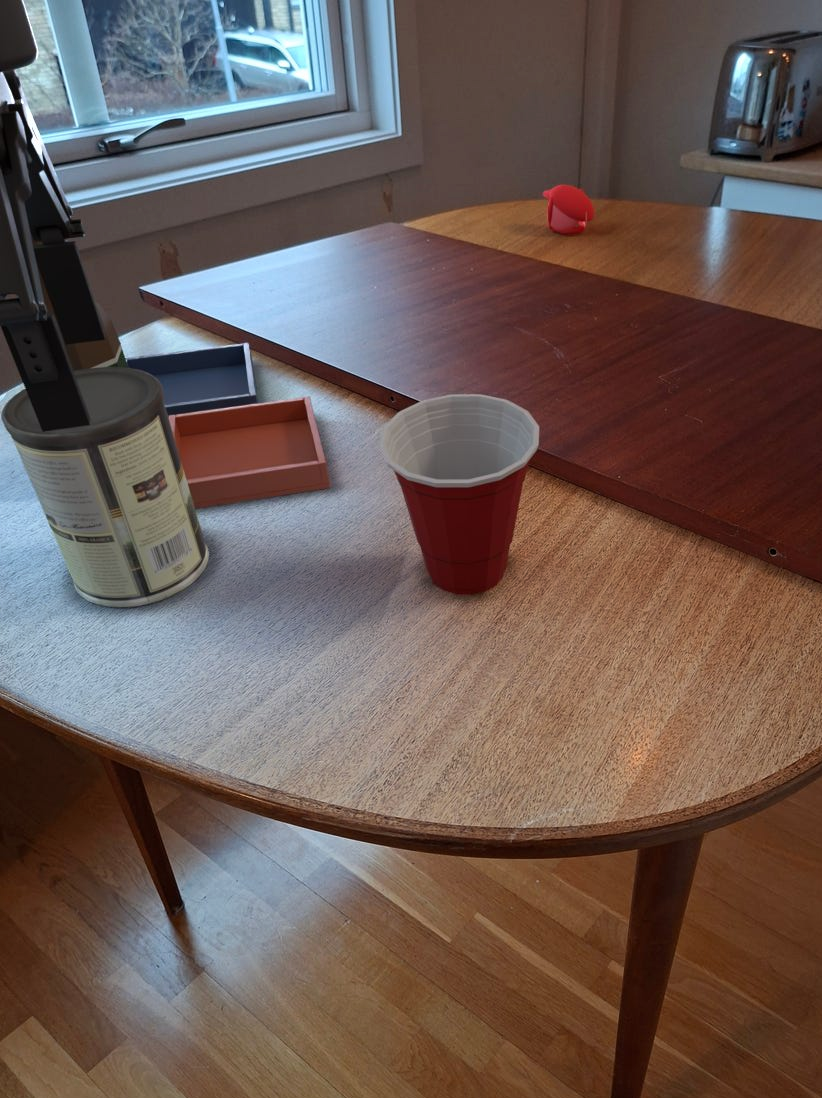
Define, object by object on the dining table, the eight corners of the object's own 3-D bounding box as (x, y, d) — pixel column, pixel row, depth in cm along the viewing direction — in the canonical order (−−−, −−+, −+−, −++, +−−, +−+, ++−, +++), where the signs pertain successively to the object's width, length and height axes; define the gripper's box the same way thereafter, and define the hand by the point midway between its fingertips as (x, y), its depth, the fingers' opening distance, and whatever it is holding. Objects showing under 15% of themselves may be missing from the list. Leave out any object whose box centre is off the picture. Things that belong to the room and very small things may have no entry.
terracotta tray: (174, 512, 74) (166, 486, 72) (175, 439, 83) (168, 415, 82) (330, 488, 76) (326, 462, 74) (313, 419, 86) (309, 396, 84)
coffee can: (112, 525, 72) (52, 362, 63) (229, 534, 71) (186, 369, 62) (45, 603, 65) (-34, 430, 56) (175, 615, 63) (116, 439, 54)
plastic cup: (373, 607, 63) (352, 461, 55) (420, 525, 71) (408, 387, 63) (519, 630, 61) (519, 481, 53) (551, 543, 69) (555, 401, 61)
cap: (599, 227, 129) (602, 182, 125) (586, 239, 125) (588, 193, 121) (548, 221, 132) (549, 178, 128) (534, 233, 127) (534, 188, 123)
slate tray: (121, 438, 84) (114, 414, 82) (128, 380, 94) (121, 358, 92) (260, 418, 86) (255, 395, 84) (253, 364, 96) (248, 342, 94)
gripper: (-32, -8, 35) (126, 461, 49) (42, -43, 53) (142, 306, 67) (-239, 4, 34) (-16, 482, 48) (-90, -35, 52) (40, 318, 66)
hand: (77, 379), depth 58 cm, fingers open, 13 cm apart
